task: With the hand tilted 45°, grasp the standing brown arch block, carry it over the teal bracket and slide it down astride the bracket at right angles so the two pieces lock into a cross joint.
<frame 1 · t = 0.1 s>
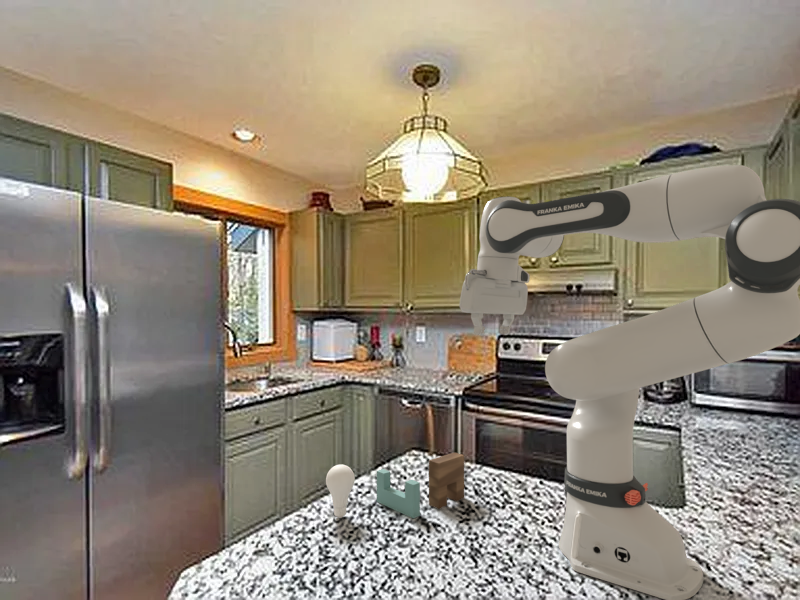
hand: (492, 334, 100), 39 cm above the countertop, tool pointing down, fingers open, 8 cm apart
teal bracket: (397, 508, 100), on the countertop
lightbulb: (340, 518, 96), on the countertop
brown arch block: (446, 501, 104), on the countertop
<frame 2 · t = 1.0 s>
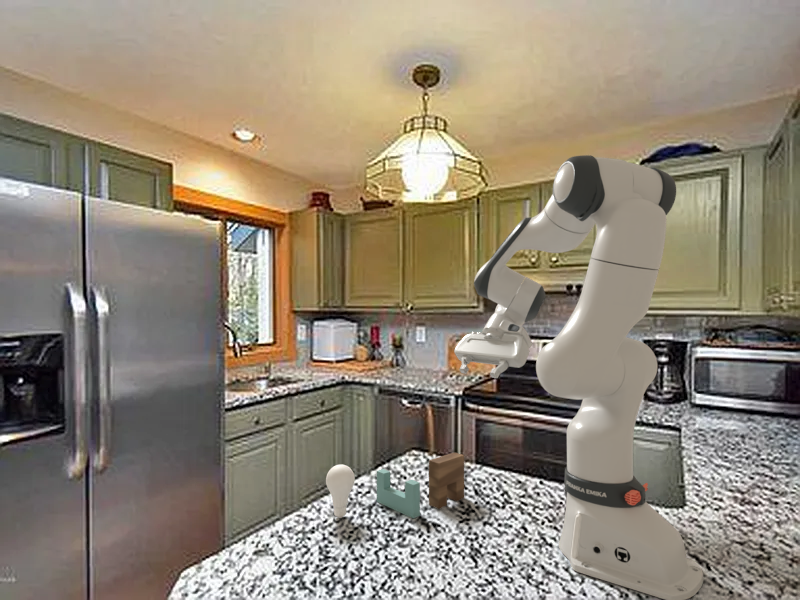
hand: (477, 374, 114), 28 cm above the countertop, tool tilted 45°, fingers open, 8 cm apart
nothing on the countertop moved.
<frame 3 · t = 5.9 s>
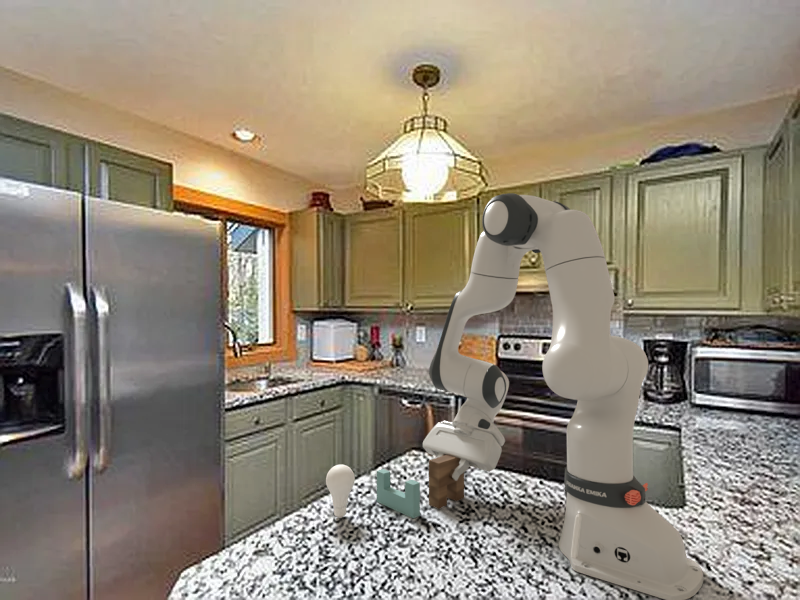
hand: (445, 476, 104), 6 cm above the countertop, tool tilted 45°, fingers closed on brown arch block, 3 cm apart
brown arch block: (446, 501, 104), on the countertop, touching gripper
everything else where it was.
when the fingers open (8 cm above the countertop, at t = 11.0 s): brown arch block drops 2 cm, on the countertop.
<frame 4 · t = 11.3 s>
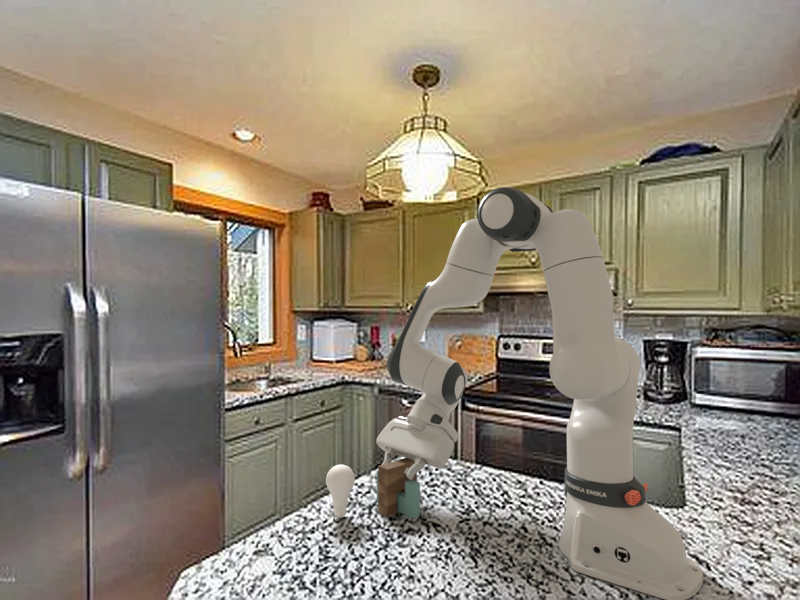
hand: (395, 473, 100), 8 cm above the countertop, tool tilted 45°, fingers open, 6 cm apart
brown arch block: (397, 508, 100), on the countertop
everything else where it was.
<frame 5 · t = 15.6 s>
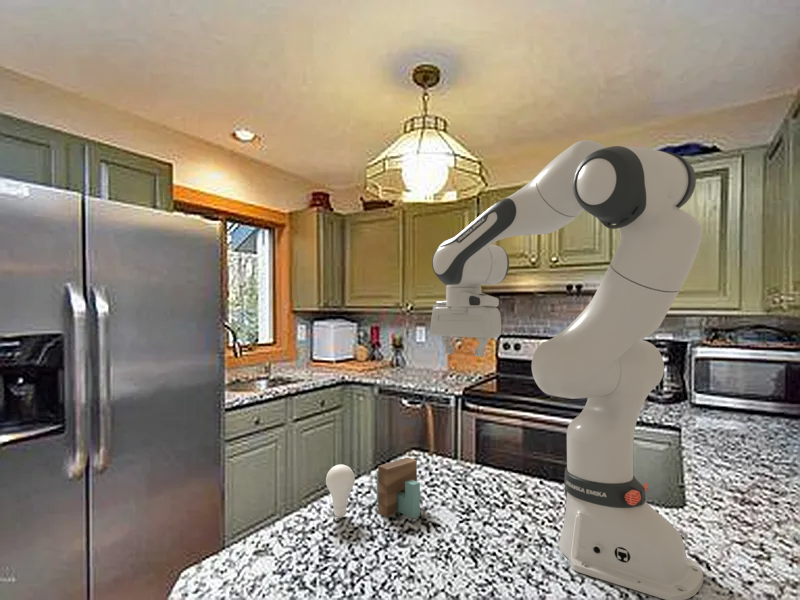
hand: (463, 355, 113), 33 cm above the countertop, tool pointing down, fingers open, 8 cm apart
nothing on the countertop moved.
at the end: brown arch block 0.1 cm off-centre on the teal bracket, point 0.0 cm above the teal bracket's base; brown arch block tilted 0°; the gripper is holding nothing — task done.
